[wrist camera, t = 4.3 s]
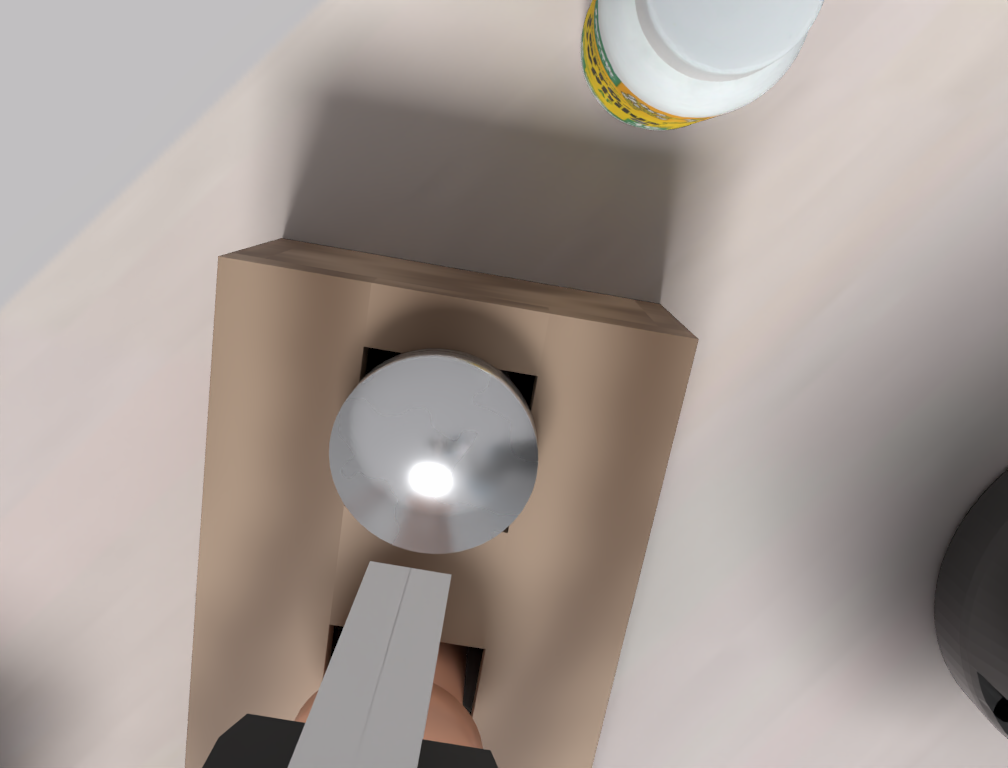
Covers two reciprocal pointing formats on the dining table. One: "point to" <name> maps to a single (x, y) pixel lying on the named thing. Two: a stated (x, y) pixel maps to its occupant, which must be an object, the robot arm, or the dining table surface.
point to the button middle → (441, 701)
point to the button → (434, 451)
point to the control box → (350, 547)
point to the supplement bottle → (688, 55)
